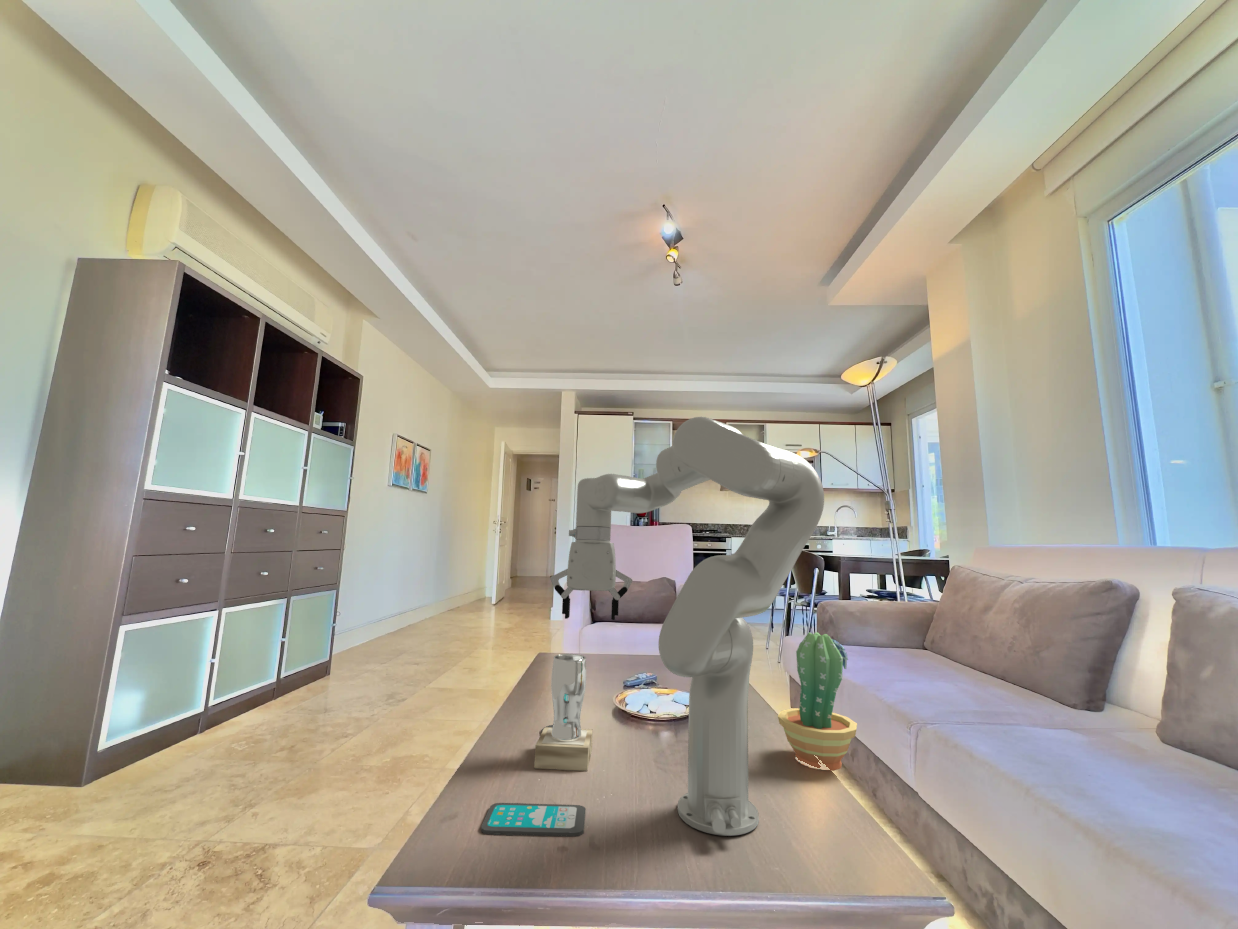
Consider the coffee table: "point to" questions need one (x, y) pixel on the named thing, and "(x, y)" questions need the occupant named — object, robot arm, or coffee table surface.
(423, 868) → the coffee table surface
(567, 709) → the beer glass
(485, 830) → the smartphone
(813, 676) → the potted cactus
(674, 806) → the coffee table surface
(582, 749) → the oak plinth
